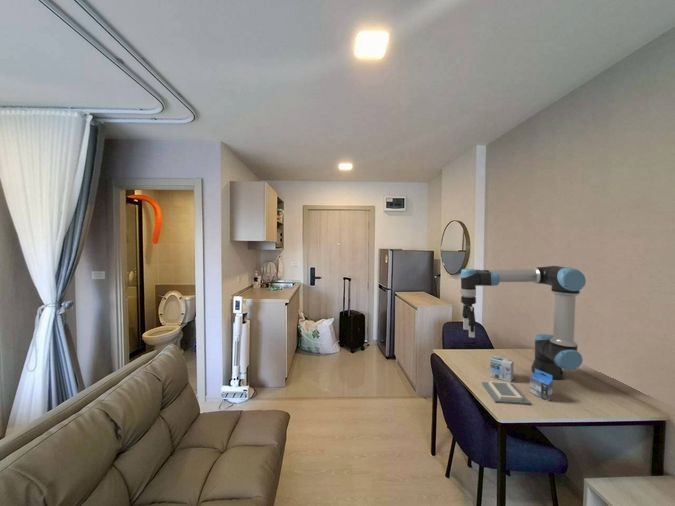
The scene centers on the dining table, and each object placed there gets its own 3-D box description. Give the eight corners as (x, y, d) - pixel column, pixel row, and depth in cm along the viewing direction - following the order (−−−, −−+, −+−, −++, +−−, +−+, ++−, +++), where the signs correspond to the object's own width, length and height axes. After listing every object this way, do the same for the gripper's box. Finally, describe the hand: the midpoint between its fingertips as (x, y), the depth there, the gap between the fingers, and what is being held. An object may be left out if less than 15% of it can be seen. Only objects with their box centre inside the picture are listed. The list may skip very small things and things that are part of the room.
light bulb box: (490, 376, 158) (490, 358, 158) (493, 372, 163) (492, 355, 163) (511, 382, 151) (511, 363, 150) (513, 378, 156) (513, 359, 155)
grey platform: (513, 385, 148) (513, 381, 148) (531, 405, 130) (531, 400, 130) (481, 383, 150) (481, 379, 150) (495, 402, 132) (495, 397, 132)
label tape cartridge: (529, 392, 141) (529, 369, 140) (534, 390, 142) (534, 367, 142) (547, 401, 132) (547, 377, 132) (552, 399, 134) (552, 375, 133)
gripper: (456, 292, 166) (457, 326, 166) (466, 300, 141) (466, 340, 142) (470, 292, 164) (470, 326, 165) (482, 300, 140) (482, 341, 140)
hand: (468, 333), depth 153 cm, fingers open, 13 cm apart
